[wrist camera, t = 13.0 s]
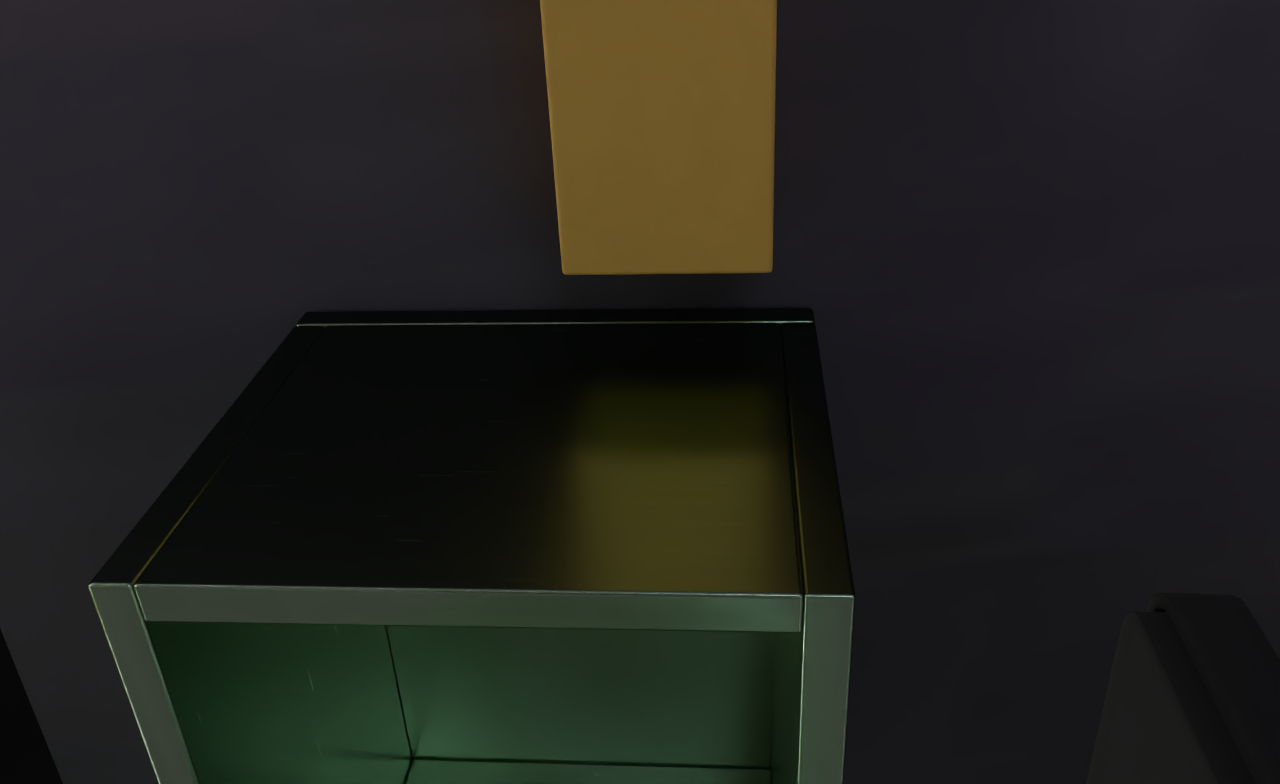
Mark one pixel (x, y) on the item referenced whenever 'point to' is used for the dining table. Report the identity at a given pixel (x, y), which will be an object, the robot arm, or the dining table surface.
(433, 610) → the waste bin
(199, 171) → the dining table surface
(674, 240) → the yellow rectangular block
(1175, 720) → the robot arm
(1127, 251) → the dining table surface
